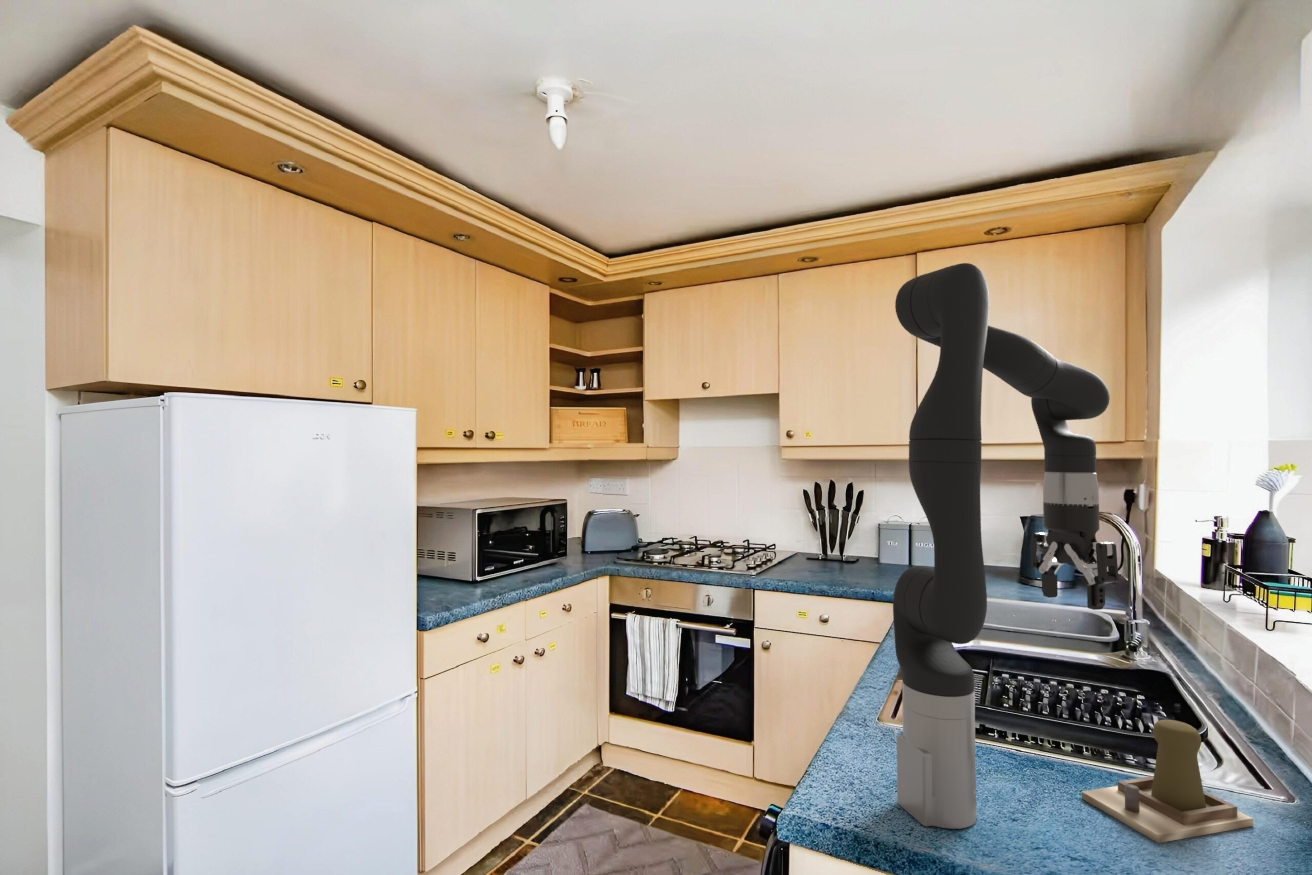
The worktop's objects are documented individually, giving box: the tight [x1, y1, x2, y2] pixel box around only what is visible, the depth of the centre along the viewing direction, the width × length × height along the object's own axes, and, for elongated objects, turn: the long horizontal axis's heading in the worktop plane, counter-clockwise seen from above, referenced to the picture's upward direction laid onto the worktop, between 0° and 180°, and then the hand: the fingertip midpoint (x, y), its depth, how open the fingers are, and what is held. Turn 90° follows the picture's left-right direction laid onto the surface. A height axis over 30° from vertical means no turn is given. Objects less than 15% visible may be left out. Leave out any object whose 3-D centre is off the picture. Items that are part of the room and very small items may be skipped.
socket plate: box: [1081, 775, 1254, 844], centre depth 89 cm, size 16×11×4 cm
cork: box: [1151, 719, 1206, 812], centre depth 89 cm, size 6×6×11 cm
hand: (1072, 602), depth 103 cm, fingers open, 8 cm apart
